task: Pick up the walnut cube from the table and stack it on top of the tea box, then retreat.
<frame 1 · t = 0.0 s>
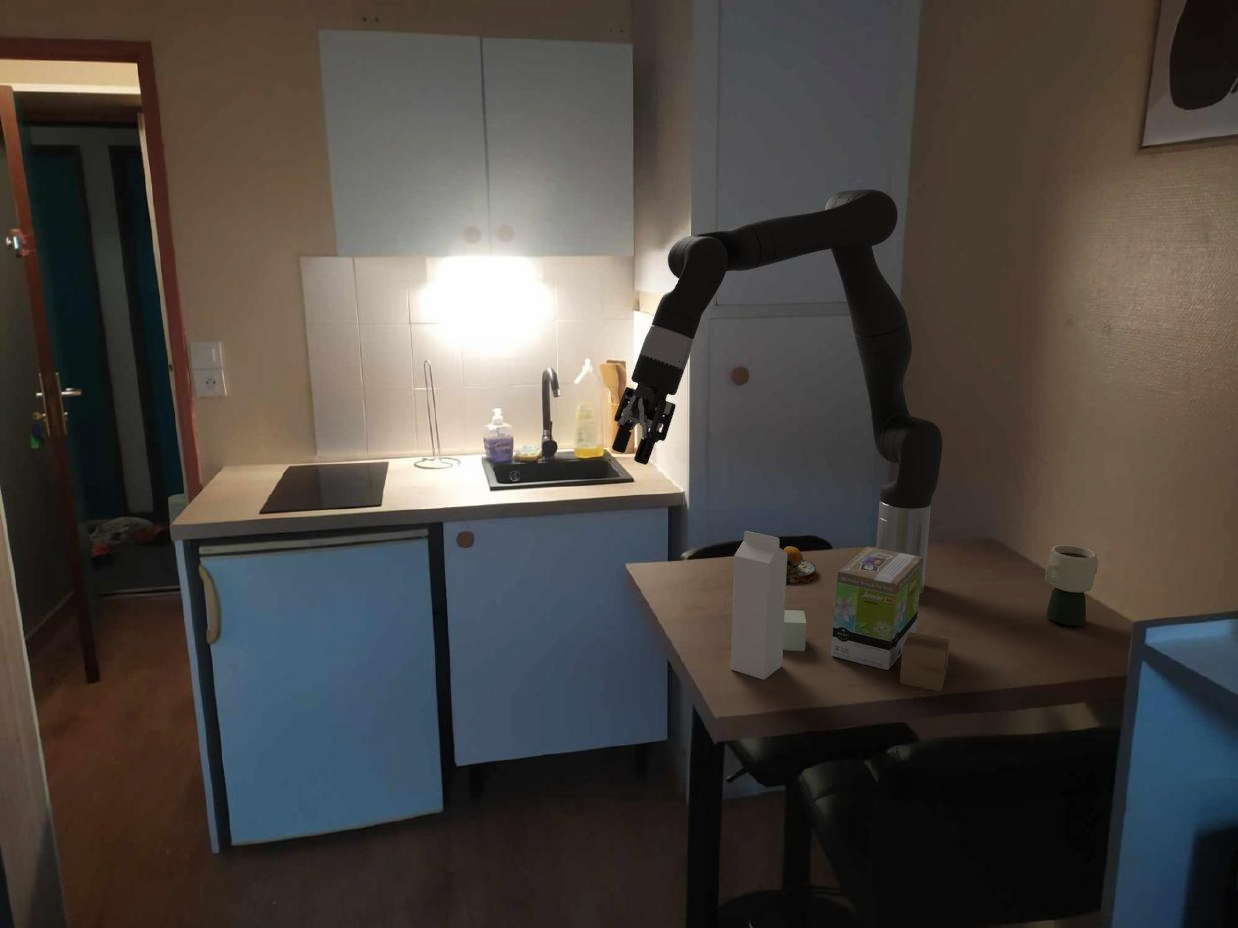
hand: (628, 457, 148), 31 cm above the table, tool tilted 20°, fingers open, 8 cm apart
character mug: (1065, 622, 164), on the table
milk: (756, 668, 146), on the table
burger: (785, 575, 186), on the table
tea box: (873, 648, 154), on the table
walnut cube: (923, 679, 143), on the table
sage block: (788, 644, 155), on the table
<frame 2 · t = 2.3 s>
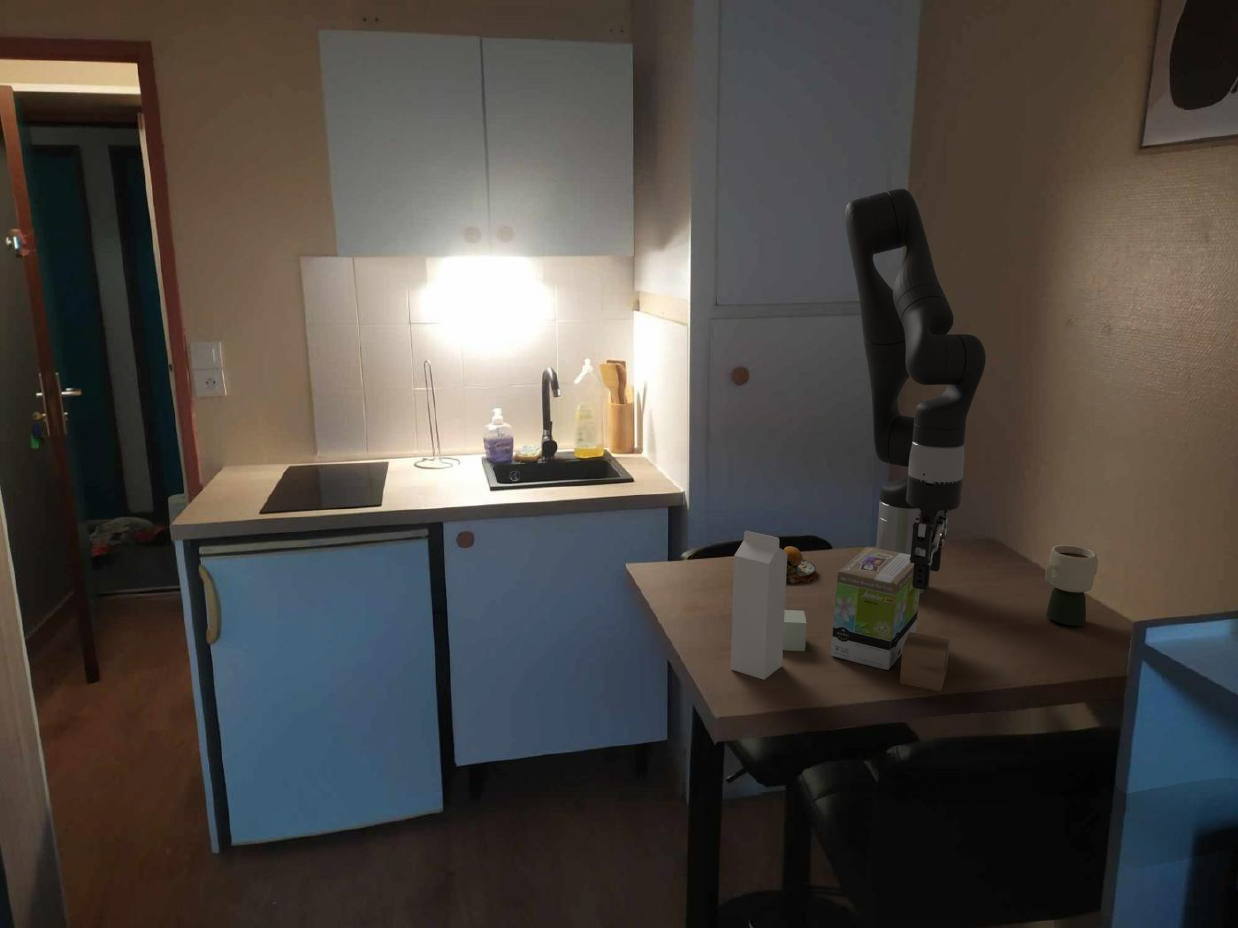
hand: (926, 578, 139), 16 cm above the table, tool pointing down, fingers open, 8 cm apart
nothing on the table moved.
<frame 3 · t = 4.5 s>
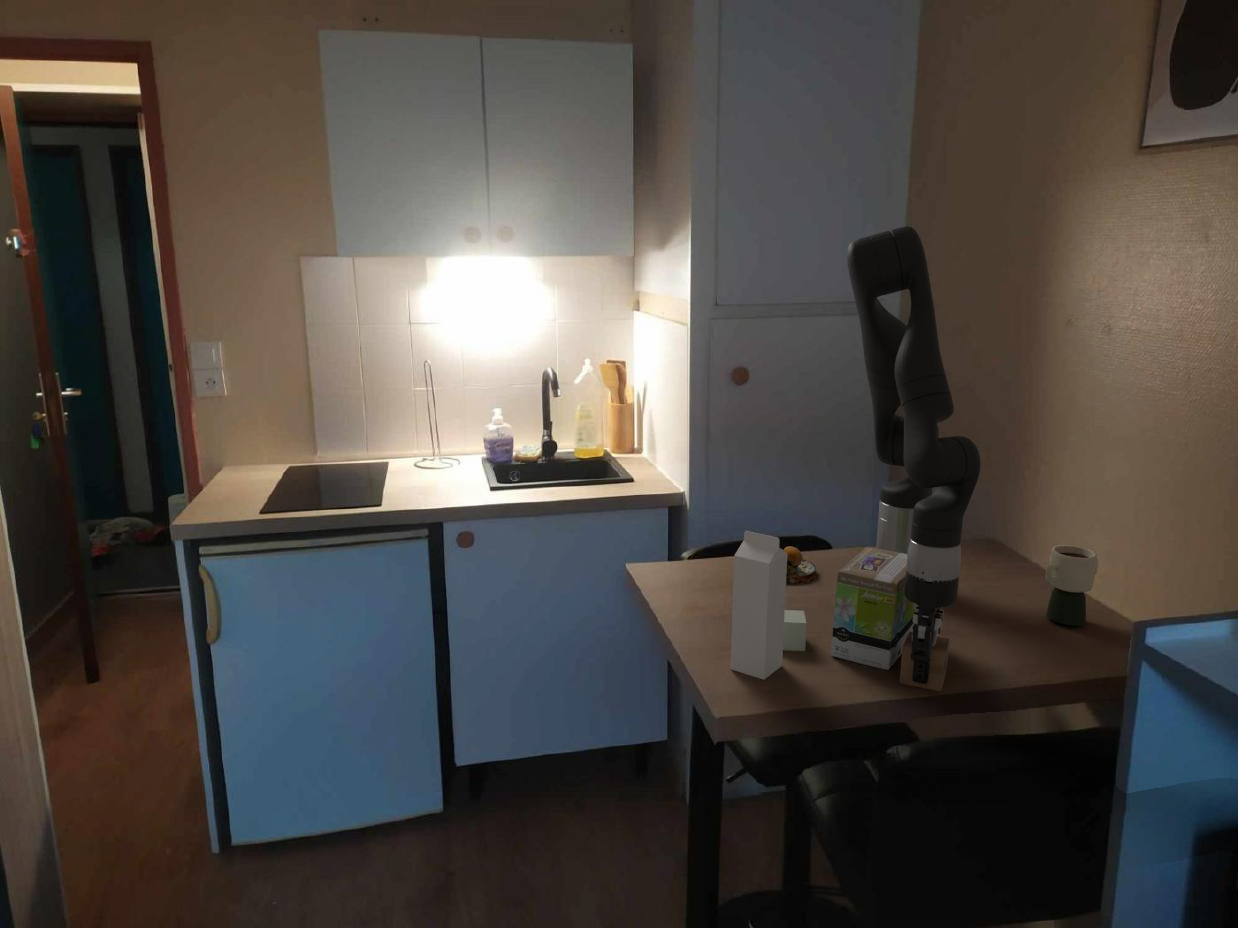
hand: (923, 672, 143), 1 cm above the table, tool pointing down, fingers closed on walnut cube, 6 cm apart
walnut cube: (923, 678, 143), on the table, touching gripper
everything else where it was.
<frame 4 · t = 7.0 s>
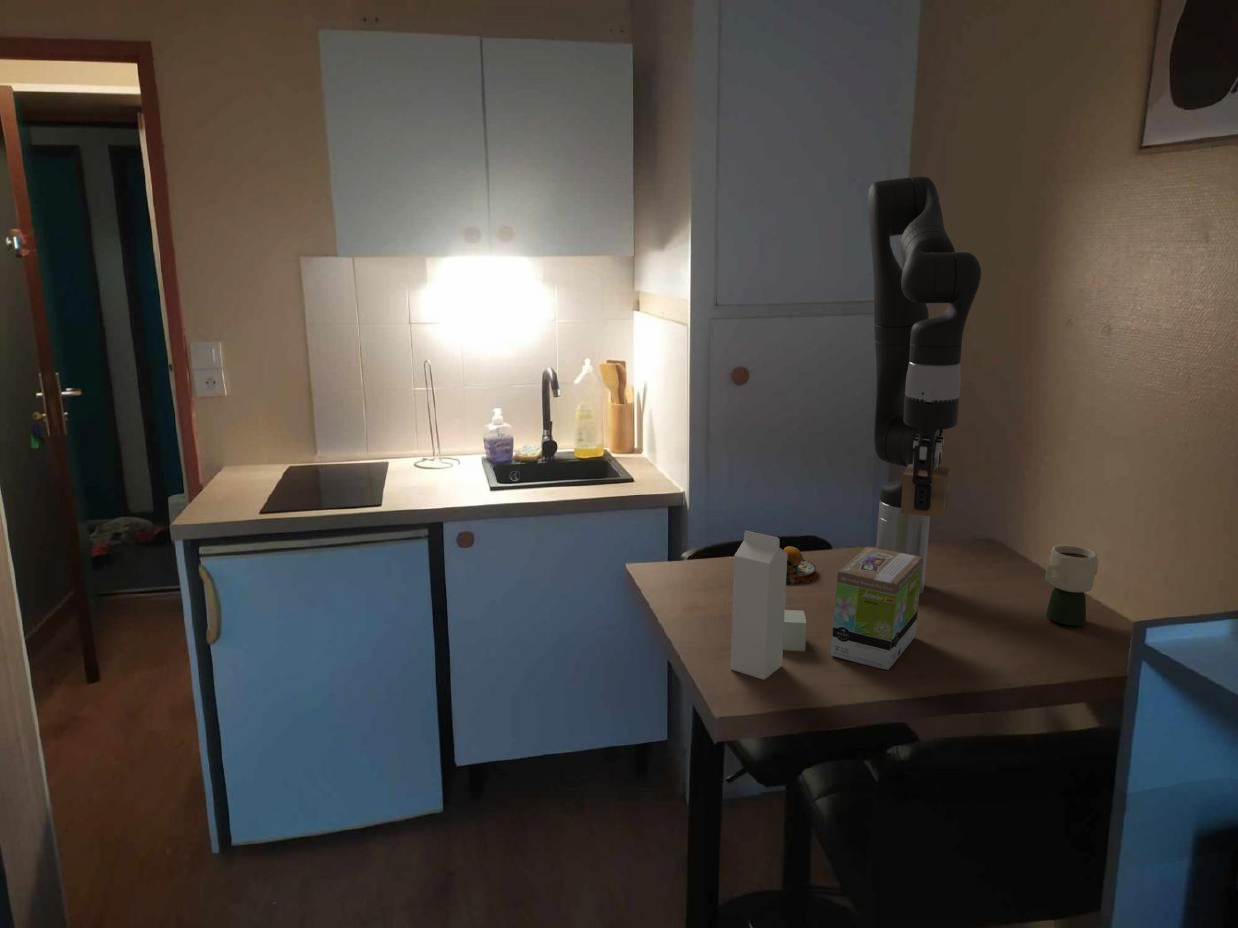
hand: (924, 502, 140), 27 cm above the table, tool pointing down, fingers closed on walnut cube, 6 cm apart
walnut cube: (924, 509, 141), point 26 cm above the table, touching gripper
everything else where it was.
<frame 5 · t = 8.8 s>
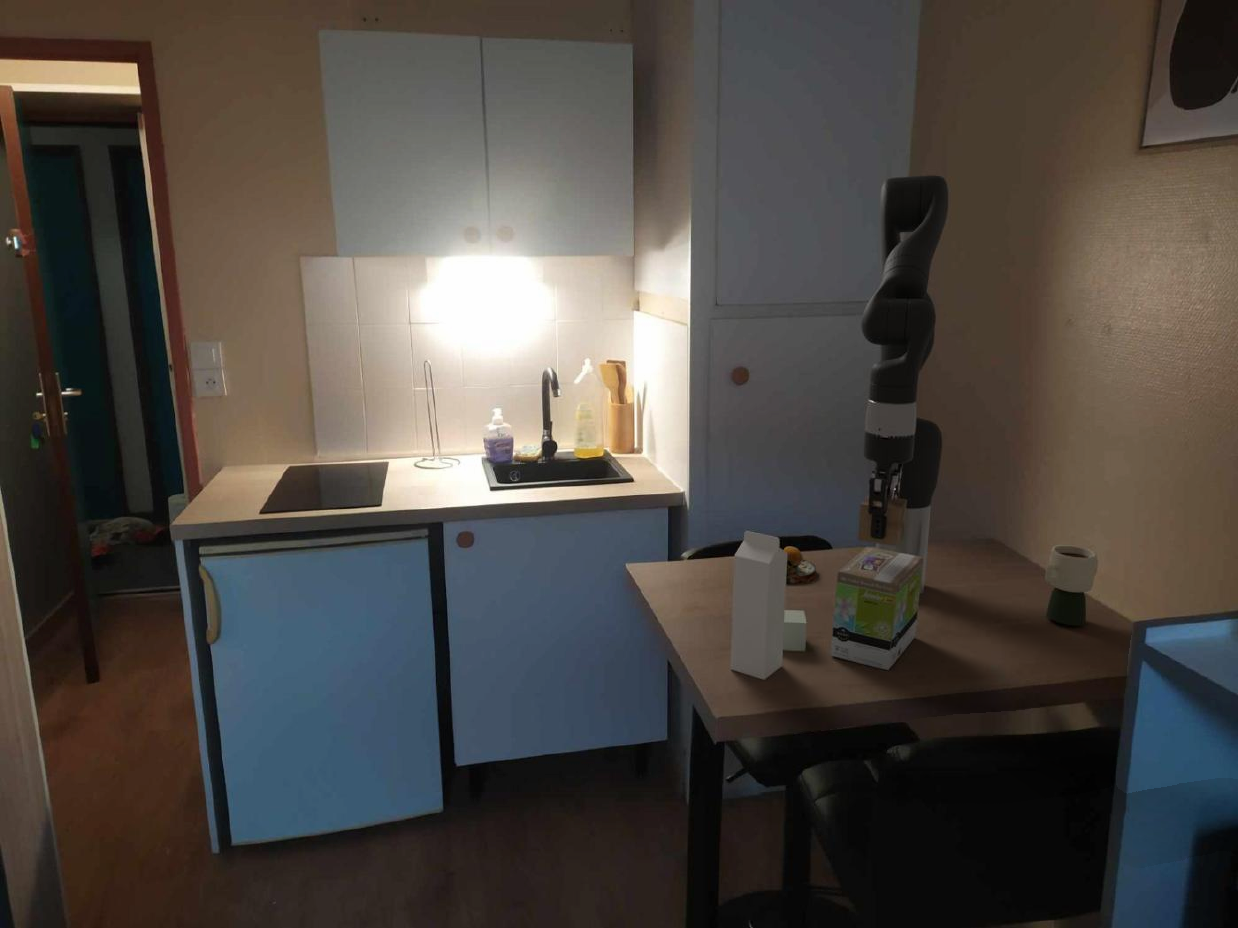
hand: (881, 531, 149), 20 cm above the table, tool pointing down, fingers closed on walnut cube, 6 cm apart
walnut cube: (881, 537, 149), point 19 cm above the table, touching gripper
everything else where it was.
when the fingers open (17 cm above the table, at t = 9.9 s): walnut cube drops 2 cm, resting on tea box.
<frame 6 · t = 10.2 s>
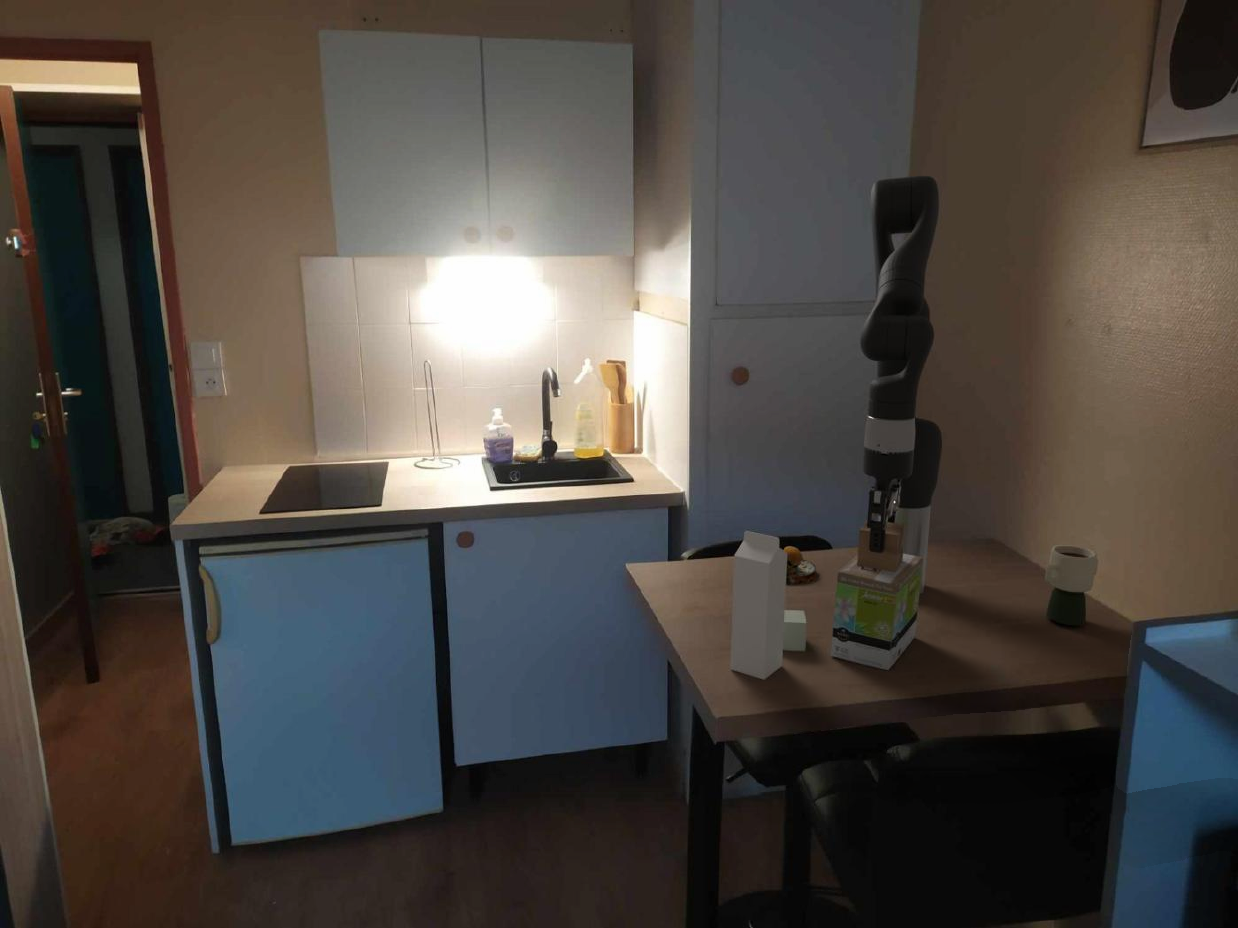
hand: (881, 543, 149), 18 cm above the table, tool pointing down, fingers open, 8 cm apart
tea box: (873, 648, 154), on the table, touching walnut cube
walnut cube: (879, 562, 150), point 15 cm above the table, touching tea box
everything else where it was.
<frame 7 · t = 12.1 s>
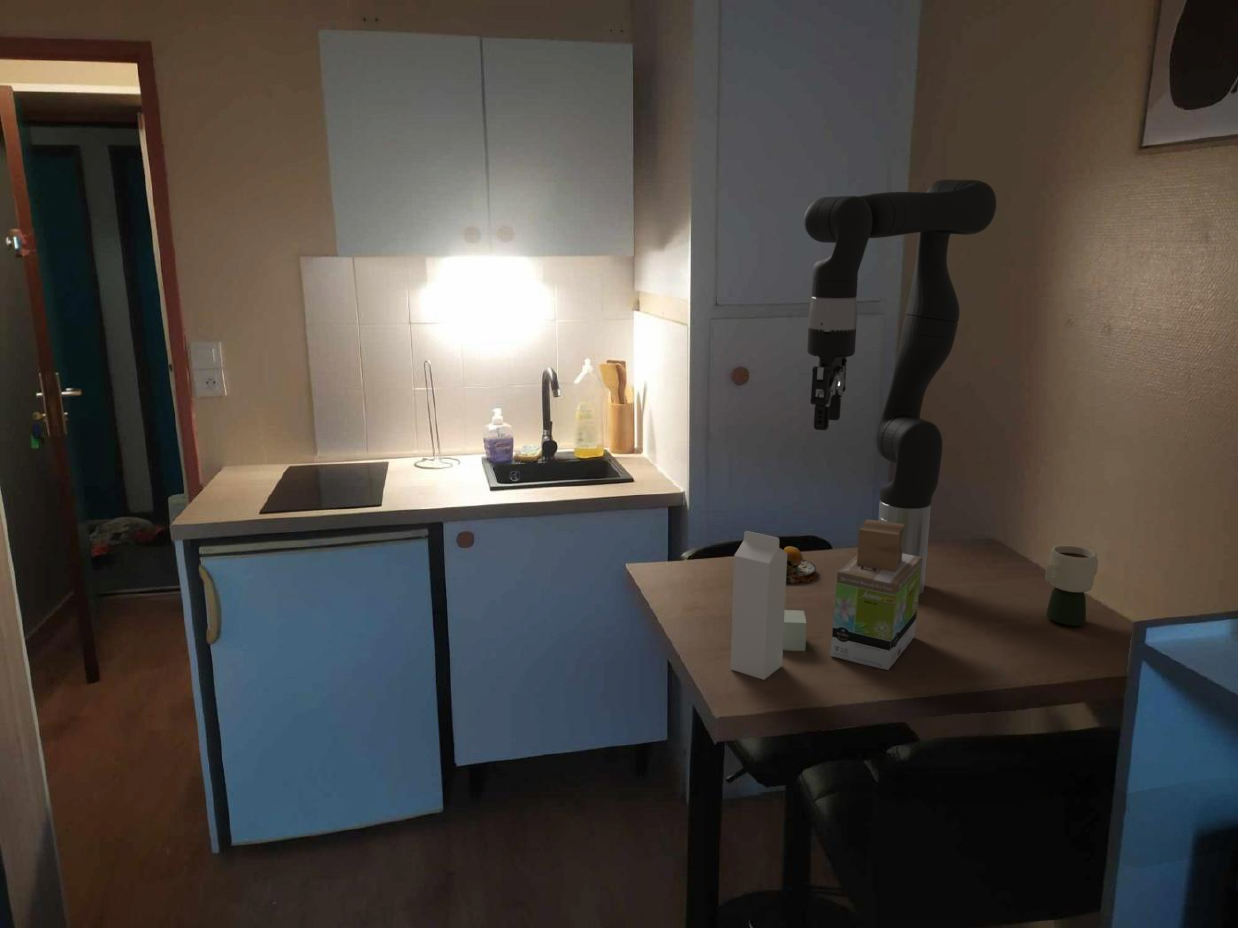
hand: (827, 424, 154), 35 cm above the table, tool pointing down, fingers open, 8 cm apart
nothing on the table moved.
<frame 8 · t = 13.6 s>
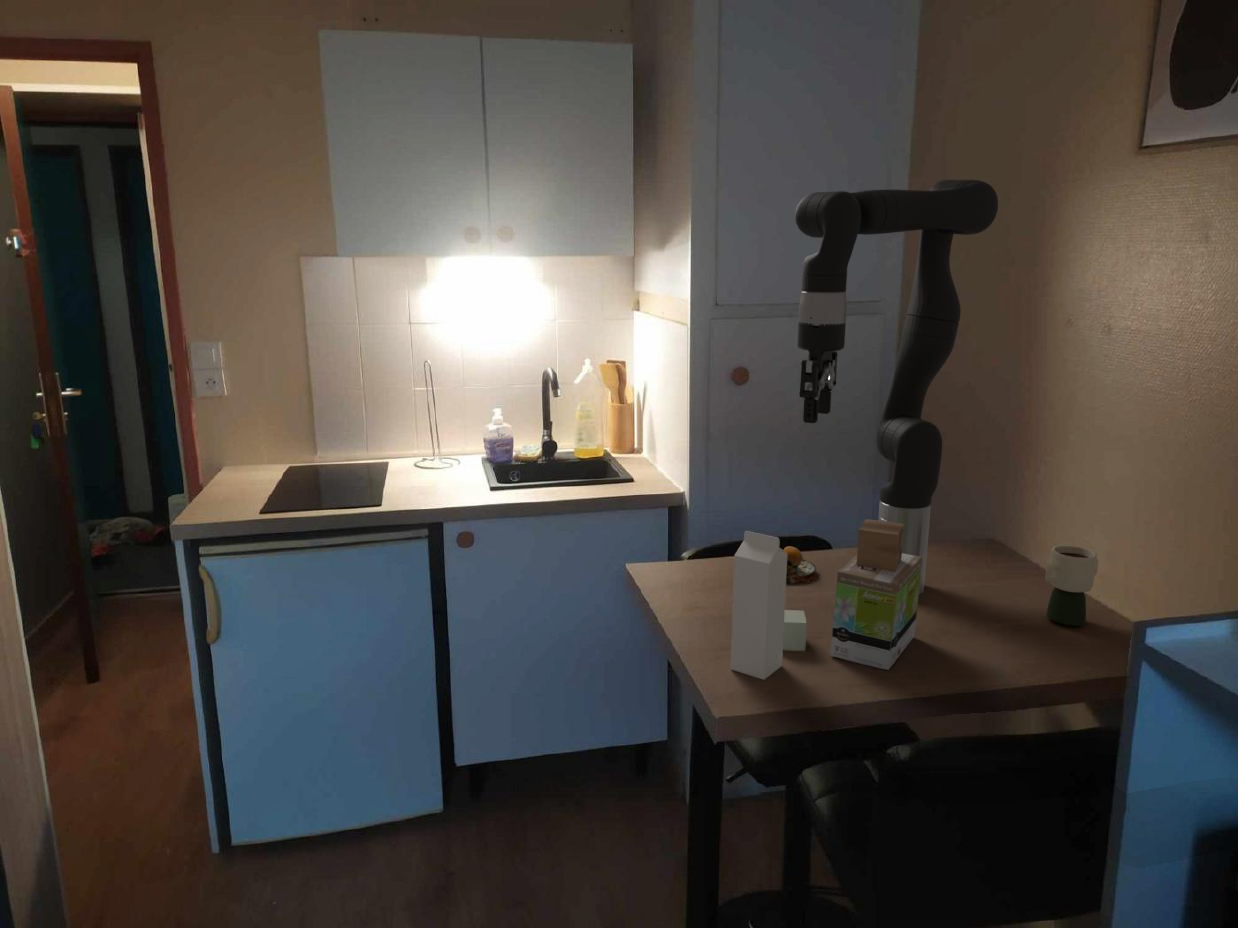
hand: (816, 417, 156), 36 cm above the table, tool pointing down, fingers open, 8 cm apart
nothing on the table moved.
at the end: walnut cube inside the target area on the tea box (0.1 cm from its centre), point 15.0 cm above the tea box's base; the gripper is holding nothing; walnut cube tilted 0° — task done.
